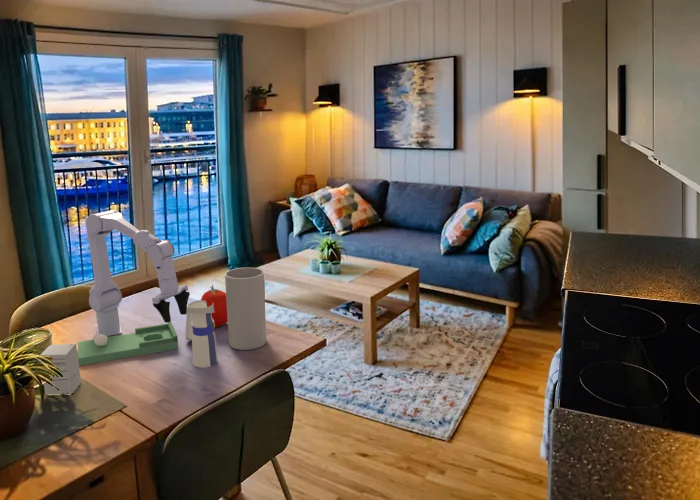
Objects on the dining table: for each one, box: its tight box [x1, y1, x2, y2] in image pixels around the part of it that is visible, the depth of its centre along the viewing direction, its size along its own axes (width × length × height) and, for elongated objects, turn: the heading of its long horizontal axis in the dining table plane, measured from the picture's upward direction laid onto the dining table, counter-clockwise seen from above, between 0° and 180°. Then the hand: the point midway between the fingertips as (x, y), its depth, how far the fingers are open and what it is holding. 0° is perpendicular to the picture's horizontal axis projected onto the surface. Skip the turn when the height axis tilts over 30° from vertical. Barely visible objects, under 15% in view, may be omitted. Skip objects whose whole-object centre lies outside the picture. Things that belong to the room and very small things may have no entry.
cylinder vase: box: [224, 267, 267, 351], centre depth 188 cm, size 12×12×25 cm
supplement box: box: [40, 343, 82, 395], centre depth 159 cm, size 7×7×13 cm
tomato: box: [200, 288, 228, 328], centre depth 205 cm, size 13×11×14 cm
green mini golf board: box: [77, 321, 179, 367], centre depth 187 cm, size 14×30×4 cm, turn 115°
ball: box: [94, 334, 108, 347], centre depth 183 cm, size 4×4×4 cm
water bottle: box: [187, 283, 219, 369], centre depth 175 cm, size 8×9×25 cm
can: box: [184, 311, 193, 341], centre depth 193 cm, size 6×6×12 cm
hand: (175, 318), depth 185 cm, fingers open, 7 cm apart
